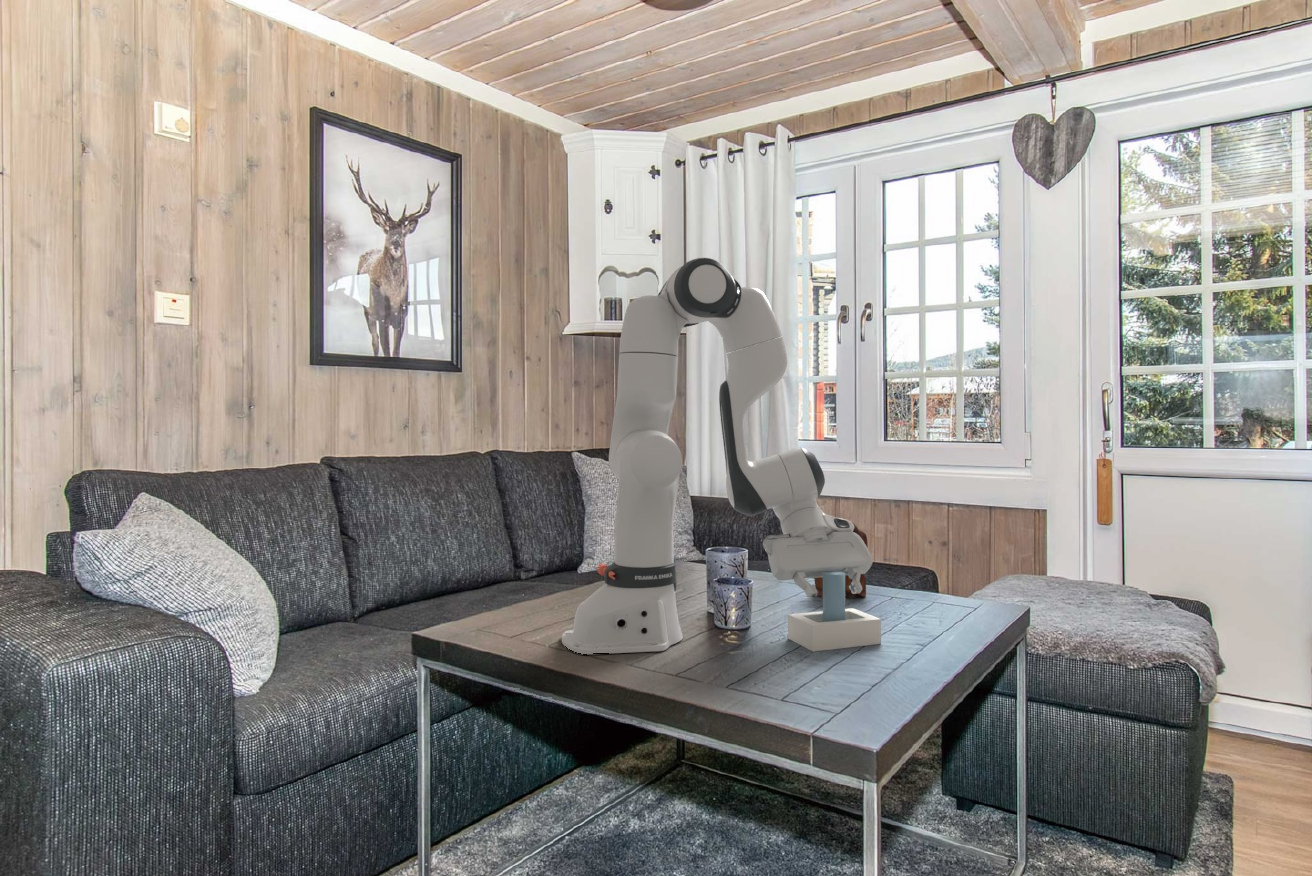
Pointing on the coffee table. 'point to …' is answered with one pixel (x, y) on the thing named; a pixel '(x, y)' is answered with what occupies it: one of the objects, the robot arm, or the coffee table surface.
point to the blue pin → (833, 596)
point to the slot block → (834, 630)
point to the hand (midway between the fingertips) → (835, 593)
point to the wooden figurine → (847, 580)
